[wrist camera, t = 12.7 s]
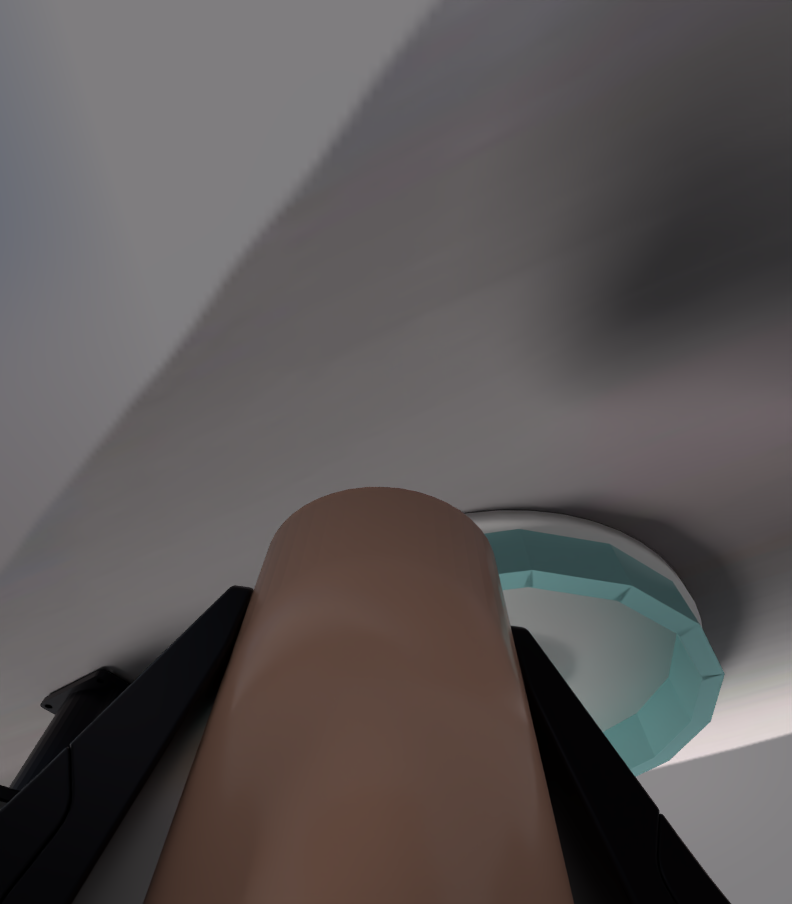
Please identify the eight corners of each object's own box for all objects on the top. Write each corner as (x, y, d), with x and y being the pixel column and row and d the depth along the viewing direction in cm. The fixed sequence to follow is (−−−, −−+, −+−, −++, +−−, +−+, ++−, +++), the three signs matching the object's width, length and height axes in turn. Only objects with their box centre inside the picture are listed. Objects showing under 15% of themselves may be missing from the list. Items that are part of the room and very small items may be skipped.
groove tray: (428, 780, 36) (430, 835, 33) (216, 620, 26) (192, 678, 23) (736, 692, 29) (774, 752, 26) (606, 427, 19) (643, 475, 16)
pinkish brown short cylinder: (344, 669, 12) (298, 1050, 7) (217, 542, 9) (2, 978, 4) (529, 611, 10) (646, 1031, 5) (434, 447, 8) (483, 914, 3)
